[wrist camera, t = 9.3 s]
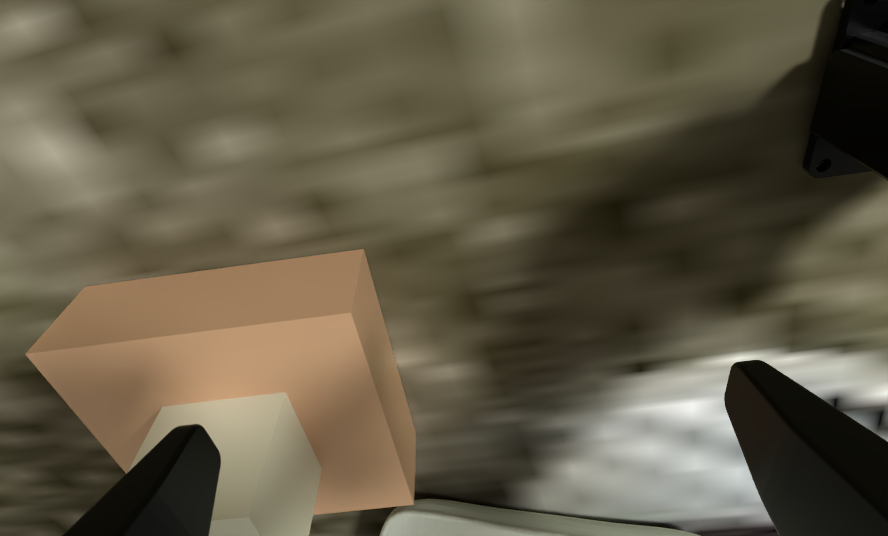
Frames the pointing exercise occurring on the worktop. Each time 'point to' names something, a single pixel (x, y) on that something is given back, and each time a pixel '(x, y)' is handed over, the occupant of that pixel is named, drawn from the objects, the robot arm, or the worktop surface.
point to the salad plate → (501, 522)
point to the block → (252, 463)
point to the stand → (245, 364)
